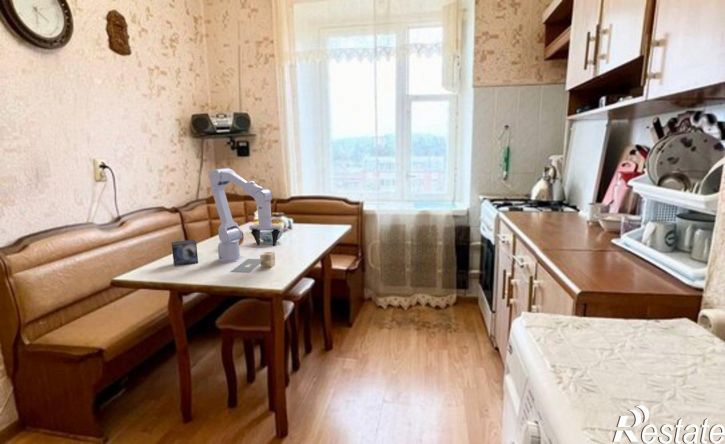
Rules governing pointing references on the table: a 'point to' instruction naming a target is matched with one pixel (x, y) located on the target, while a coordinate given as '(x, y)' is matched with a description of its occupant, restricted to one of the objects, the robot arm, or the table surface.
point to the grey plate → (247, 266)
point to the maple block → (267, 259)
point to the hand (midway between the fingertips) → (266, 245)
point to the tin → (241, 239)
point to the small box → (184, 252)
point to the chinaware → (269, 236)
